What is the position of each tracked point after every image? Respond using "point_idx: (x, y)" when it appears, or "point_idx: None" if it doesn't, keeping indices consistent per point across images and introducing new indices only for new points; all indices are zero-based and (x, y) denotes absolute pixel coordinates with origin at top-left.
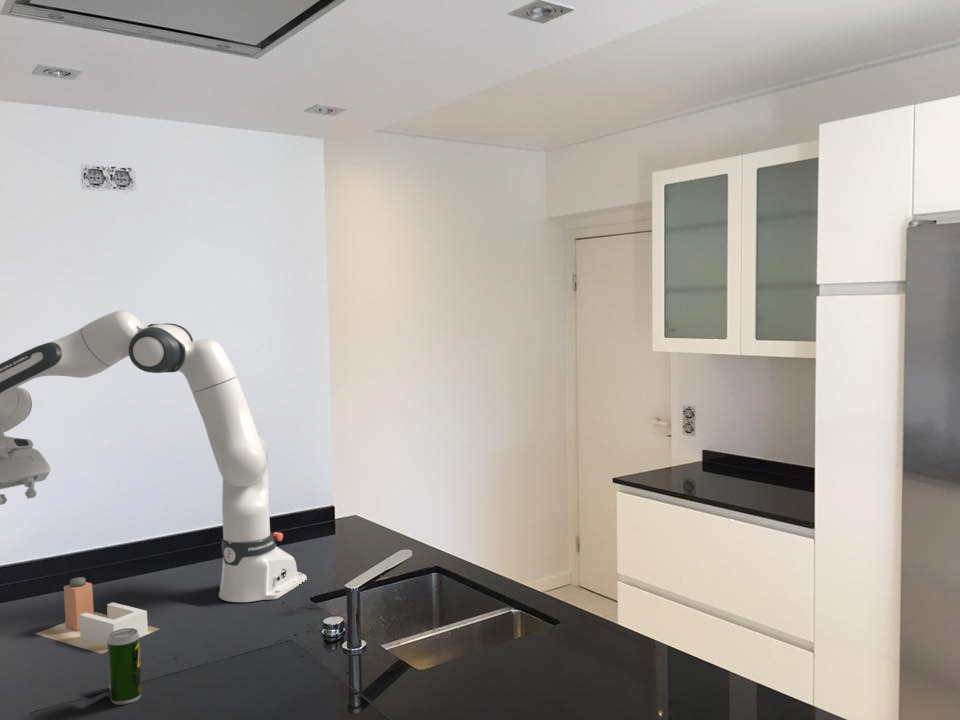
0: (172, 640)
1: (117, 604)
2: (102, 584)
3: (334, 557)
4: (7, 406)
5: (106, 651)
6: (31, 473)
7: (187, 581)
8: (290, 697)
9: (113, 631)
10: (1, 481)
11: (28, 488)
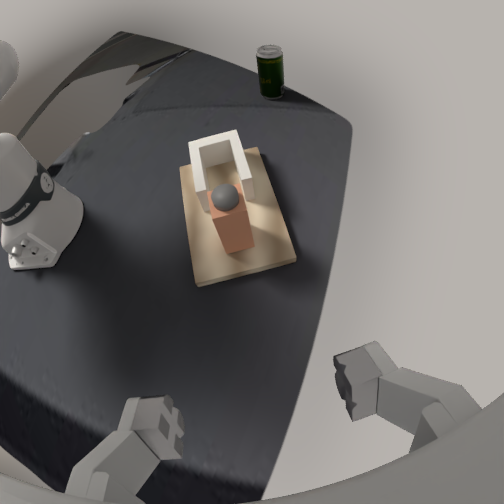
0: (182, 156)
1: (196, 180)
2: None
3: None
4: None
5: (250, 148)
6: (49, 500)
7: (54, 325)
8: (200, 62)
9: (273, 53)
10: (372, 471)
11: (139, 482)
